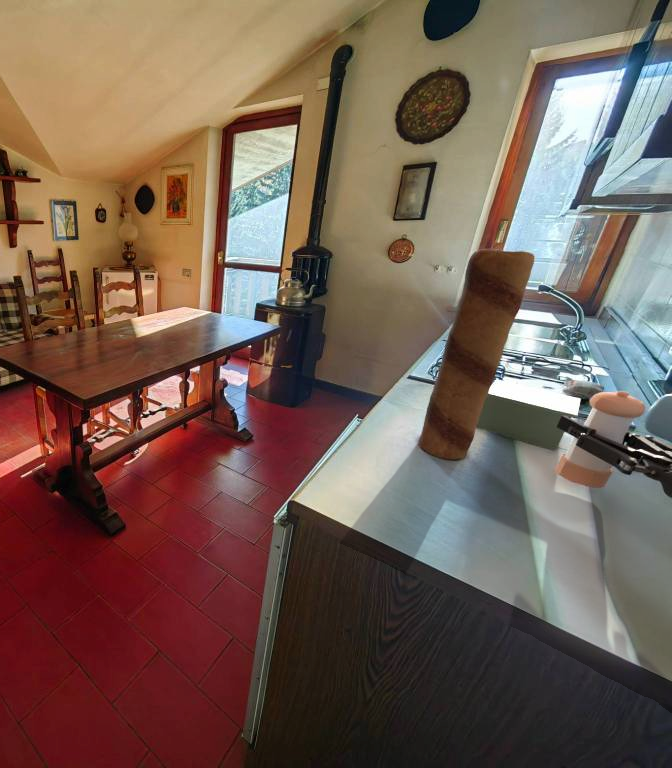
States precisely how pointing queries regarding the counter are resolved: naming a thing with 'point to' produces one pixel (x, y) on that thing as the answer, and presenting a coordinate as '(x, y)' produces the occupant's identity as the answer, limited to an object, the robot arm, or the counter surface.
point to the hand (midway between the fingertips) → (576, 422)
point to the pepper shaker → (609, 422)
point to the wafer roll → (474, 349)
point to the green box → (521, 422)
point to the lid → (535, 398)
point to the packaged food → (582, 389)
